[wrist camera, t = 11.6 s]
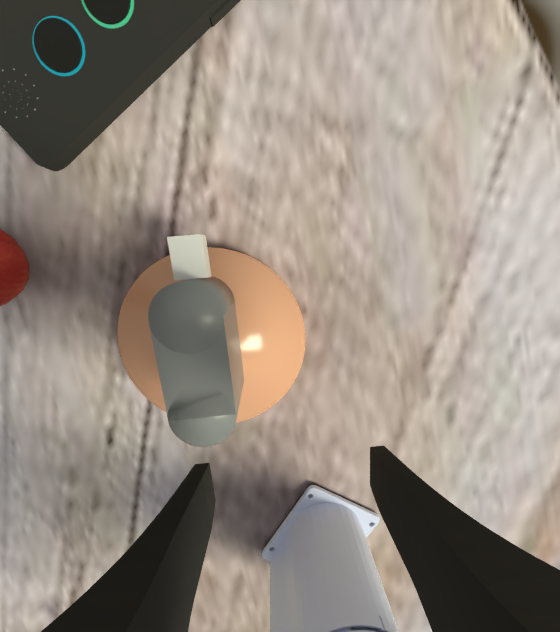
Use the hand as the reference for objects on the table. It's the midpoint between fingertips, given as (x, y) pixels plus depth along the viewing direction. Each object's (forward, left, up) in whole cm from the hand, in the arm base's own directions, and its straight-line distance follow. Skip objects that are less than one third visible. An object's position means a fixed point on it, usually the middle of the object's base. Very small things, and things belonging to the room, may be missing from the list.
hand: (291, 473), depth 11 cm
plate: (0, +6, -10) cm, 12 cm away
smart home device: (+16, +21, -11) cm, 28 cm away
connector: (+1, +7, -9) cm, 11 cm away
